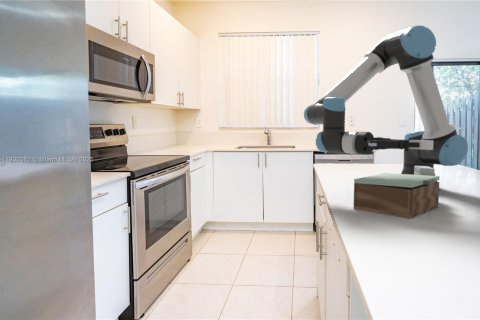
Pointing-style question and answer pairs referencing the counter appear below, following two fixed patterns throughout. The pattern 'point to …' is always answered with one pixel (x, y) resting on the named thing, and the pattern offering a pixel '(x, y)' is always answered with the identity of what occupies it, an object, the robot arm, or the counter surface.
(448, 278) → the counter surface
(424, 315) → the counter surface
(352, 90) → the robot arm
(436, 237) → the counter surface
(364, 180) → the lid
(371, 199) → the wooden box
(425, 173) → the ink box
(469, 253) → the counter surface
